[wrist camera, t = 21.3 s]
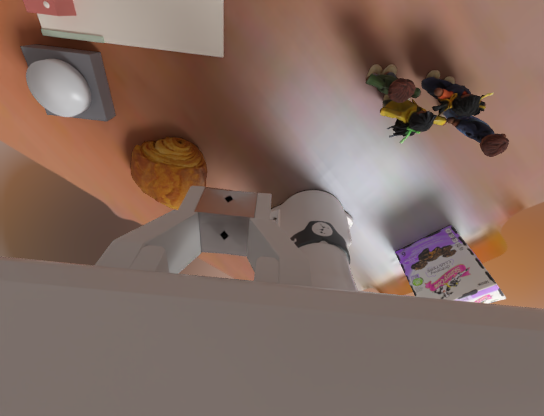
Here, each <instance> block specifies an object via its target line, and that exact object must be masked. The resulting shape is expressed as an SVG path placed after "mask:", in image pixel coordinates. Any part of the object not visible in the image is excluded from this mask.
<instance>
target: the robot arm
mask: <svg viewBox="0 0 544 416" xmlns="http://www.w3.org/2000/svg"><path fill="white" fill-rule="evenodd" d="M271 198H272V195H271V194H269V193H254V192H242V191H232V190H226V189H219V188H211V187H203V186H191V187H190V189H189V190H188V192H187V194H186V196H185V198H184V200H183V202H182V203H181V205H180V207H179V209H178V210H173V211H171V212H169V213H167V214H165V215H163V216H161V217H159V218H157V219H155V220H153V221H151V222H149V223H147V224H145V225H143V226H141V227H139V228H137V229H135V230H133V231H131V232H129V233H127V234H125V235H123V236H121V237H119V238H117V239H115V240H113V242H112V243H111V244H110V246H109V247H108V248H107V250H106V251H105V252H104V254H103V255H102V256H101V257H100V259H99V260H98V262H97V263H96V264H95V266H93V265H82V264H72V263H62V262H51V261H41V260H31V259H20V258H10V257H0V416H544V309H538V308H529V307H518V306H506V305H497V304H487V303H477V302H466V301H456V300H446V299H435V298H425V297H414V296H404V295H394V294H383V293H373V292H363V291H358V289H357V287H356V284H355V281H354V278H353V275H352V272H351V269H350V253H349V249H348V247H349V245H351V243H352V240H351V235H350V228H351V226H352V224H353V219H352V217H351V216H350V215H349V214H347V213H346V212H345V211H344V209H343V207H342V205H341V203H340V202H339V200H338V199H337V198H335V197H334V196H333V195H331V194H329V193H327V192H323V191H318V190H308V191H303V192H300V193H297V194H295V195H293V196H291V197H290V198H288V199H287V200H286V201H285V202H284V203H283V204H282V205H280V206H277V207H275V208H273V209H271ZM201 252H209V253H222V254H231V255H239V256H247V259H248V260H249V262H250V264H251V266H252V268H253V270H254V272H255V277H254V281H249V280H239V279H228V278H217V277H206V276H197V275H186V274H178V273H179V272H180V271H181V270H183V269H184V268H185V267H186V266H187V265H188V264H189V263H191V262H192V261H193V260H194V259H195V258H196V257H197V256H198V255H200V254H201Z"/></svg>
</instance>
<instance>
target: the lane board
mask: <svg viewBox="0 0 544 416" xmlns="http://www.w3.org/2000/svg"><path fill="white" fill-rule="evenodd" d="M73 3H74V7H75V11H76V14H77V16H53V15H46V14H38V13H37V15H38V18H39V21H40V24H41V27H42V29H41V31H42V34H43V36H51V37H59V38H67V39H75V40H83V41H92V42H100V43H110V44H118V45H126V46H135V47H143V48H151V49H159V50H167V51H175V52H183V53H191V54H199V55H207V56H215V57H224V0H73Z"/></svg>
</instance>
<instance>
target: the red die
mask: <svg viewBox="0 0 544 416" xmlns="http://www.w3.org/2000/svg"><path fill="white" fill-rule="evenodd" d="M23 2H24V4H25V7H26V10H27V12H30V13H38V14H46V15H53V16H77V14H76V11H75V7H74V3H73V0H23Z"/></svg>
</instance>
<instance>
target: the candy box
mask: <svg viewBox="0 0 544 416" xmlns="http://www.w3.org/2000/svg"><path fill="white" fill-rule="evenodd" d="M395 253H396V255H397V258H398V260H399V262H400V264H401V266H402V268H403V271H404V273H405V275H406V277H407V279H408V281H409V284H410V286H411V288H412V290H413V292H414V295H415V297H425V298H435V299H446V300H456V301H466V302H477V303H487V304H490V303H493V302H496V301H498V300H503V299H506V297H505V295H504V294H503V293H502V291H501V290H500V288H499V287H498V285H497V284H496V282H495V281H494V279H493V278H492V277H491V275H490V274H489V273H488V271H487V270H486V269H485V267H484V266H483V264H482V263H481V262H480V260H479V259H478V258H477V256H476V255H475V254H474V252H473V251H472V250H471V249H470V247H469V246H468V245H467V244H466V242H465V241H464V240H463V239H462V237H461V236H460V235H459V234H458V232H457V231H456V230H455V229H454V227H453V226H452V225H450V226H448V227H445V228H443V229H441V230H440V231H437V232H435V233H433V234H431V235H429V236H427V237H425V238H423V239H421V240H419V241H417V242H414V243H412V244H410V245H408V246H406V247H404V248H402V249H400V250H398V251H396V252H395Z"/></svg>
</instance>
